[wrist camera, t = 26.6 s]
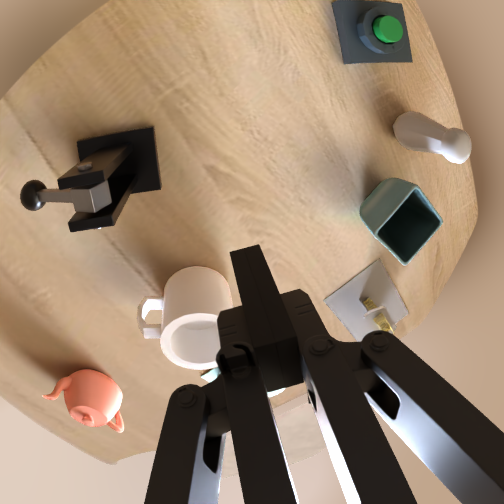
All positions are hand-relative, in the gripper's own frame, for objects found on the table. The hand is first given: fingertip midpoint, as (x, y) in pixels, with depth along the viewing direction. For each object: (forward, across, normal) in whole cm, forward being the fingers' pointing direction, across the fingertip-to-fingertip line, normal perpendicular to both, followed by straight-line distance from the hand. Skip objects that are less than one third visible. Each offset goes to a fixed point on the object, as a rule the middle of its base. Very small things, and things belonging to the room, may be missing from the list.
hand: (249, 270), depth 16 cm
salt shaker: (+27, +28, -1) cm, 38 cm away
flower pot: (+27, +22, -12) cm, 37 cm away
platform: (+27, +21, -33) cm, 47 cm away
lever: (+17, -15, +4) cm, 24 cm away
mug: (+27, -9, -19) cm, 34 cm away
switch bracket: (+26, -12, +3) cm, 29 cm away
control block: (+26, +24, +14) cm, 38 cm away
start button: (+23, +24, +14) cm, 36 cm away
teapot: (+27, -36, -34) cm, 56 cm away
